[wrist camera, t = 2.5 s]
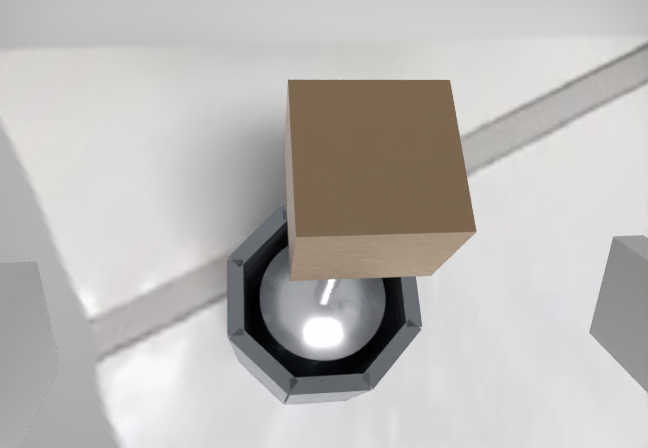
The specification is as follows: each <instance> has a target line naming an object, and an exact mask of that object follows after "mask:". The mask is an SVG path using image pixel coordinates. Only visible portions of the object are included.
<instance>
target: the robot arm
mask: <svg viewBox="0 0 648 448" xmlns="http://www.w3.org/2000/svg"><path fill="white" fill-rule="evenodd" d="M589 333H590V334H591V335H592V336H593V337H594V338H595V339H596V340H597V341H598V342H599V343H600V344H601V345H602V346H603V347H604V348H605V349H606V350H607V351H608V352H609V353H610V355H611V356H612V357H613V358H614V359H615V360H616V361H617V362H618V363H619V364H620V365H621V366H622V367H623V368H624V369H625V370H626V371H627V372H628V373H629V374H630V375H631V376H632V377H633V378H634V379H635V380H636V381H637V382H638V383H639V384H640V385H641V386H642V387H643V388H644V390H645V391H646V392H647V393H648V238H646V237H645V236H643V235H641V236H618V237H613V240H612V244H611V248H610V252H609V256H608V260H607V264H606V268H605V272H604V276H603V280H602V284H601V288H600V292H599V296H598V300H597V304H596V308H595V312H594V316H593V320H592V324H591V328H590V332H589ZM60 367H61V366H60V362H59V357H58V353H57V349H56V344H55V340H54V336H53V332H52V327H51V323H50V319H49V314H48V310H47V305H46V301H45V297H44V292H43V288H42V284H41V280H40V275H39V271H38V266H37V262H20V263H0V448H20V446H21V444H22V442H23V440H24V438H25V436H26V434H27V432H28V430H29V428H30V426H31V424H32V422H33V420H34V418H35V416H36V415H37V413H38V410H39V409H40V407H41V405H42V403H43V401H44V399H45V397H46V395H47V393H48V391H49V389H50V387H51V385H52V383H53V381H54V379H55V377H56V375H57V373H58V371H59V369H60Z"/></svg>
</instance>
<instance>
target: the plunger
mask: <svg viewBox="0 0 648 448" xmlns="http://www.w3.org/2000/svg"><path fill="white" fill-rule="evenodd" d="M285 173H286V196H287V219H288V242H289V246H287V247H286V248H284V249H283V250H282V251H281V252H280V253H278V254H277V255H276V257H275V258H274V259H273V260H272V261H271V263H270V264H269V266H268V267H267V270H266V272H265V274H264V276H263V279H262V283H261V288H260V307H261V313H262V318H263V320H264V323H265V326H266V327H267V329H268V331H269V333H270V334H271V336H272V337H273V339H274V340H275V341H276V342H277V343H278V344H279V345H280V346H281V347H282V348H284V349H285V350H286V351H288V352H289V353H291V354H292V355H294V356H297V357H299V358H301V359H305V360H308V361H314V362H331V361H337V360H340V359H343V358H346V357H348V356H350V355H352V354H354V353H355V352H357V351H358V350H360V349H361V348H362V347H363V346H364V345H366V344H367V342H368V341H369V340H370V339H371V338H372V337H373V336H374V334H375V333H376V331H377V329H378V328H379V326H380V323H381V321H382V318H383V314H384V310H385V290H384V285H383V281H382V278H384V277H410V276H431V275H432V274H433V273H434V272H435V271H436V270H437V269H438V268H439V267H440V266H442V265H443V264H444V263H445V262H446V261H447V260H448V259H449V258H450V257H451V256H452V255H453V254H454V253H455V252H456V251H457V250H458V249H459V248H460V247H461V246H462V245H463V244H464V243H465V242H466V241H467V240H468V239H469V238H470V237H472V236H473V235H474V234H475V233H476V227H475V221H474V215H473V210H472V204H471V198H470V192H469V187H468V181H467V175H466V169H465V164H464V158H463V152H462V147H461V141H460V135H459V129H458V124H457V118H456V112H455V107H454V101H453V95H452V89H451V84H450V80H288V93H287V114H286V134H285Z"/></svg>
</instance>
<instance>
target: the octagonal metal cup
mask: <svg viewBox="0 0 648 448" xmlns="http://www.w3.org/2000/svg"><path fill="white" fill-rule="evenodd" d="M287 246H289V242H288V219H287V206H283V209H282V208H281V207H280V208H279V209H278V210H277V211H276V212H275V213H274V214H273V215H271V216H270V217H269V218H268V219H267V220H266V221H265V222H264V223H263V224H262V225H261V226H260V227H259V228H258V229H257V230H256V231H255V232H254V233H253V234H252V235H251V236H250V237H249V238H248V239H247V240H246V241H245V242H244V243H243V244H242V245H241V246H240V247H239V248H238V249H237V250H236V251H235V252H234V253H233V254H232V255H231V256H230V257H229V260H227V288H228V338H229V340H230V343H231V345H232V347H233V349H234V351H235V353H236V355H237V358H238V360H239V362H240V363H241V364H242V365H243V366H244V367H245V368H246V369H247V370H248V371H249V372H250V373H251V374H252V375H253V376H254V377H255V378H257V379H258V380H259V381H260V382H261V383H262V384H263V385H264V386H265V387H266V388H267V389H268V390H269V391H270V392H271V393H272V394H273V395H274V396H275V397H277V398H278V399H279V400H280V401H281V402H282V403H284V402H285V405H286V404H302V403H317V402H333V401H345V400H348V399H350V398H353V397H355V396H358V395H360V394H363V393H365V392H368V391H370V390H372V389H374V387H375V386H376V385H377V384H378V382H379V381H380V380H381V379H382V378H383V376H384V375H385V374H386V373H387V371H388V370H389V369H390V368H391V366H392V365H393V364H394V363H395V361H396V360H397V359H398V358H399V356H400V355H401V354H402V353H403V351H404V350H405V349H406V348H407V346H408V345H409V344H410V343H411V341H412V340H413V339H414V338H415V337H416V335H417V334H418V333H419V332H420V330H421V327H422V321H421V314H420V306H419V298H418V290H417V282H416V276H410V277H384V278H382V281H383V285H384V290H385V310H384V314H383V318H382V321H381V323H380V326H379V328H378V329H377V331H376V333H375V334H374V336H373V337H372V338H371V339H370V340H369V341H368V342H367V344H366V345H364V346H363V347H362V348H361V349H360V350H358V351H357V352H355V353H354V354H352V355H350V356H348V357H346V358H343V359H340V360H337V361H331V362H314V361H308V360H305V359H301V358H299V357H297V356H294V355H292V354H291V353H289V352H288V351H286V350H285V349H284V348H282V347H281V346H280V345H279V344H278V343H277V342H276V341H275V340H274V339H273V337H272V336H271V334H270V333H269V331H268V329H267V327H266V326H265V323H264V320H263V318H262V313H261V307H260V288H261V283H262V279H263V276H264V274H265V272H266V270H267V267H268V266H269V264H270V263H271V261H272V260H273V259H274V258H275V257H276V255H277V254H278V253H280V252H281V251H282V250H283V249H284V248H286V247H287Z"/></svg>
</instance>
